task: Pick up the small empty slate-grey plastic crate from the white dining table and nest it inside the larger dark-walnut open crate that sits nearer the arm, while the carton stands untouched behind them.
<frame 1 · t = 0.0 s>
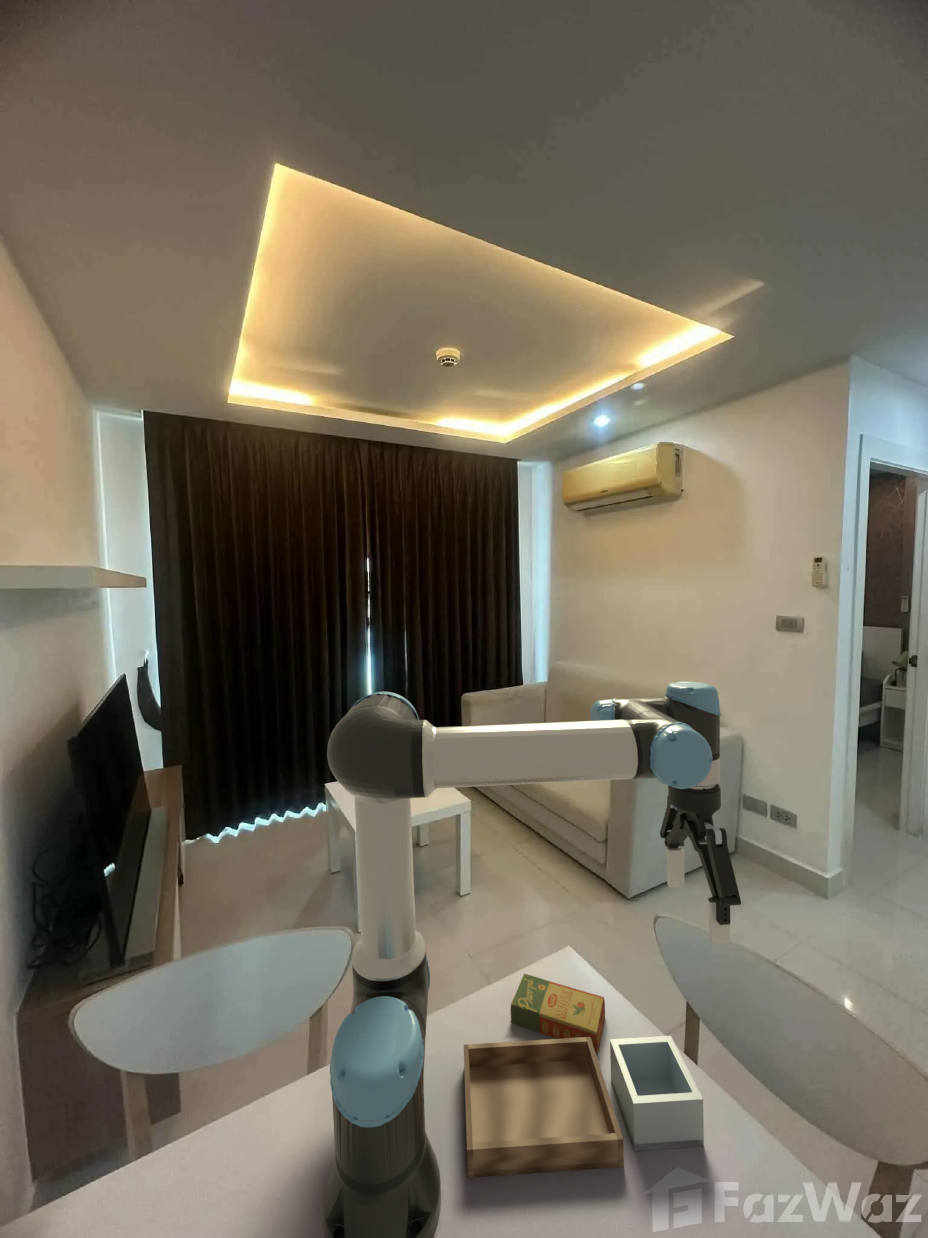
hand: (695, 911, 77), 28 cm above the table, fingers open, 13 cm apart
small crate: (654, 1111, 74), on the table
crate: (536, 1112, 74), on the table
carton: (557, 1022, 90), on the table
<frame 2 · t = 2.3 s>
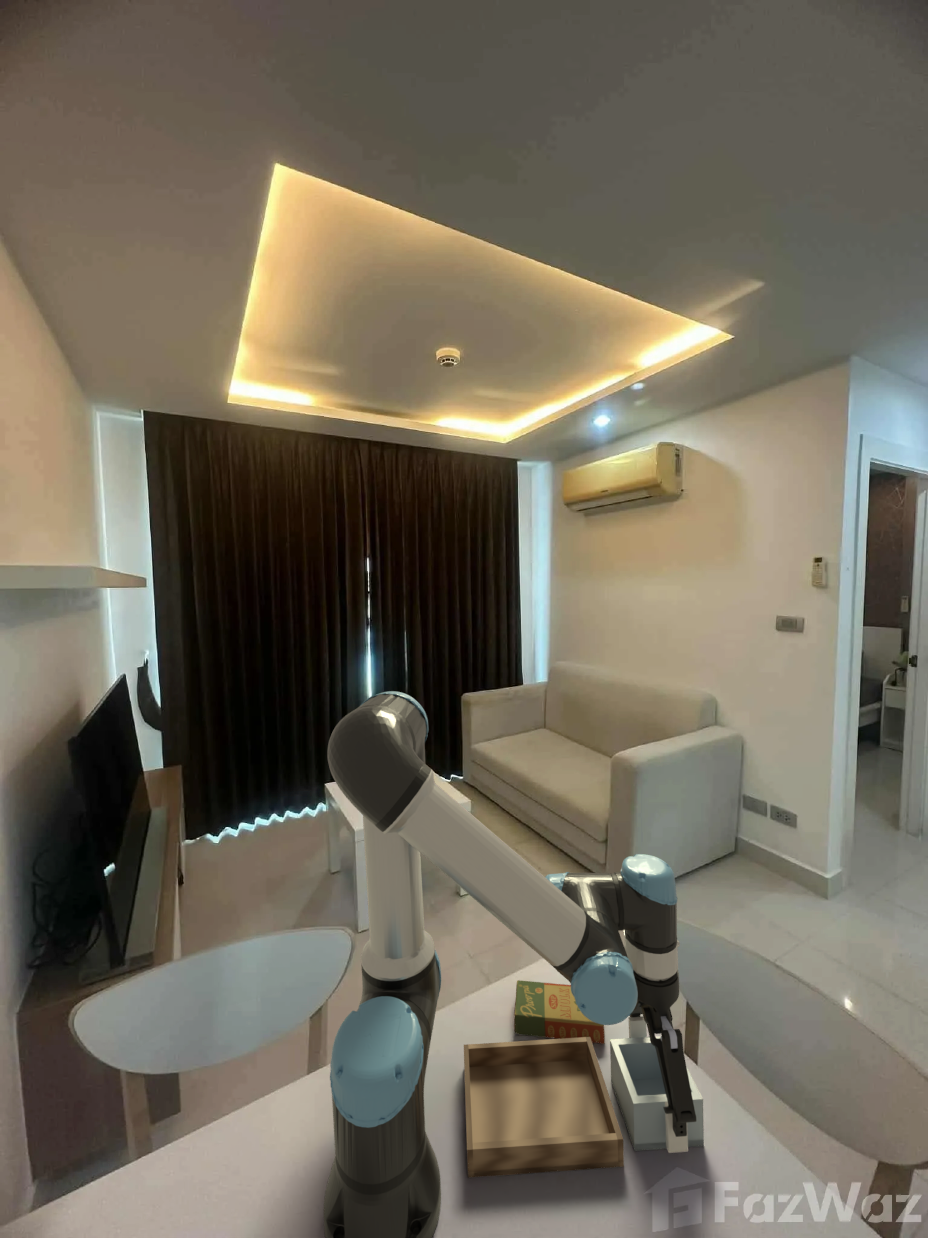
hand: (656, 1099, 73), 2 cm above the table, fingers open, 13 cm apart
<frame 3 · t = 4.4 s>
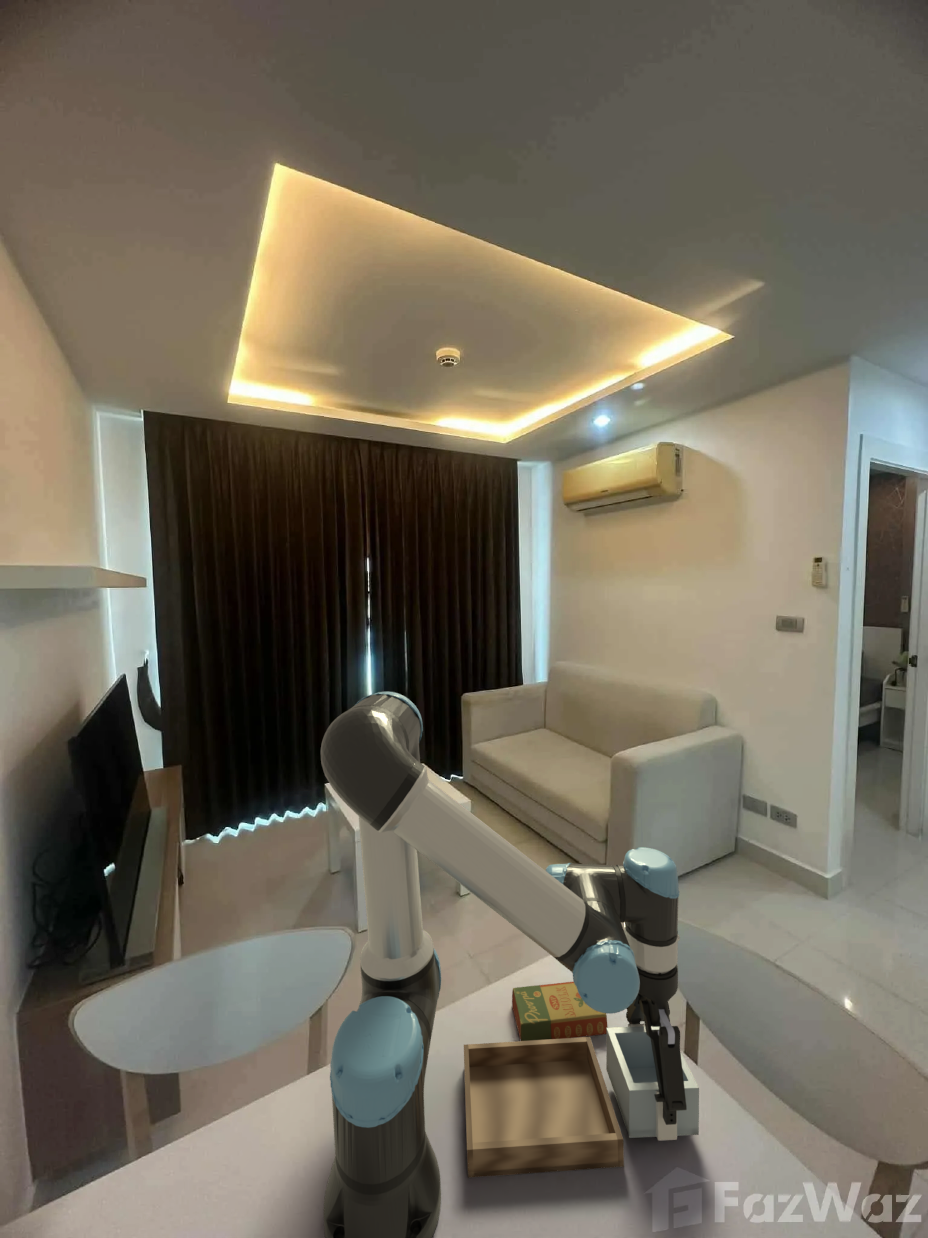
hand: (650, 1098, 74), 2 cm above the table, fingers closed on small crate, 10 cm apart
small crate: (649, 1100, 74), point 2 cm above the table, touching gripper
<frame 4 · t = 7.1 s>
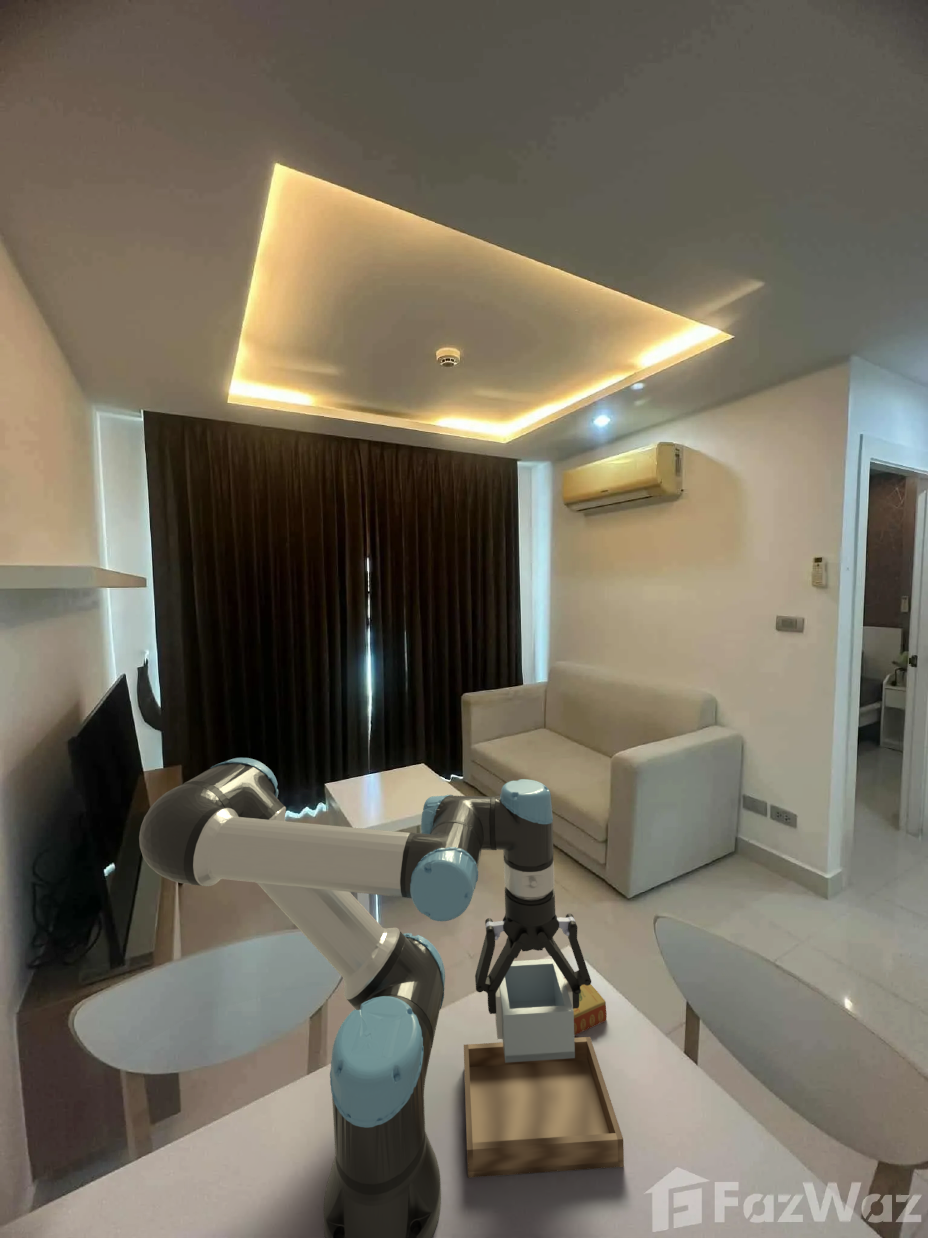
hand: (534, 1028, 74), 13 cm above the table, fingers closed on small crate, 10 cm apart
small crate: (534, 1029, 74), point 13 cm above the table, touching gripper
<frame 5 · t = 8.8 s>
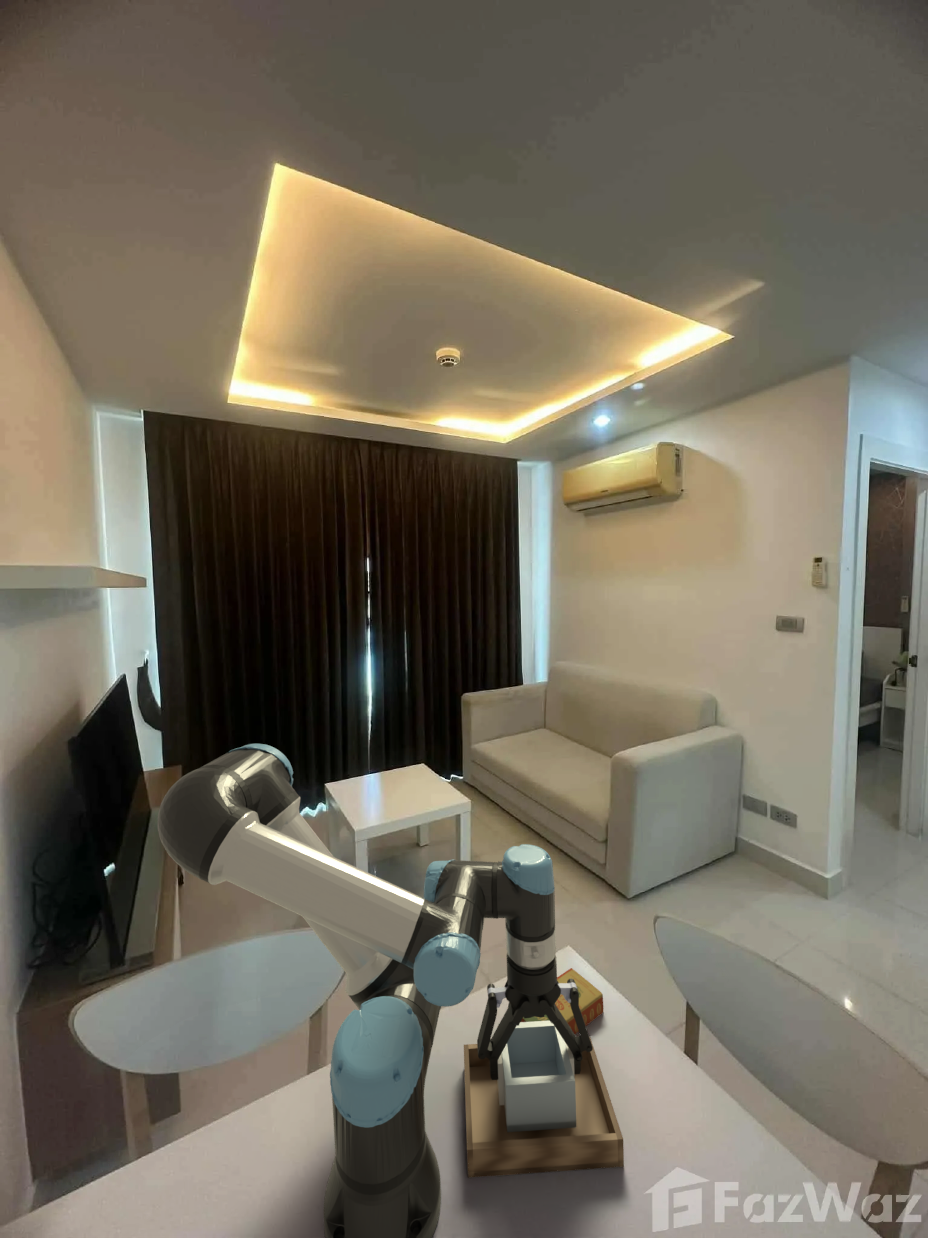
hand: (535, 1094, 74), 3 cm above the table, fingers closed on small crate, 10 cm apart
small crate: (535, 1094, 74), point 3 cm above the table, touching gripper
when the fingers open (3 cm above the table, at t = 9.8 s): small crate drops 2 cm, resting on crate.
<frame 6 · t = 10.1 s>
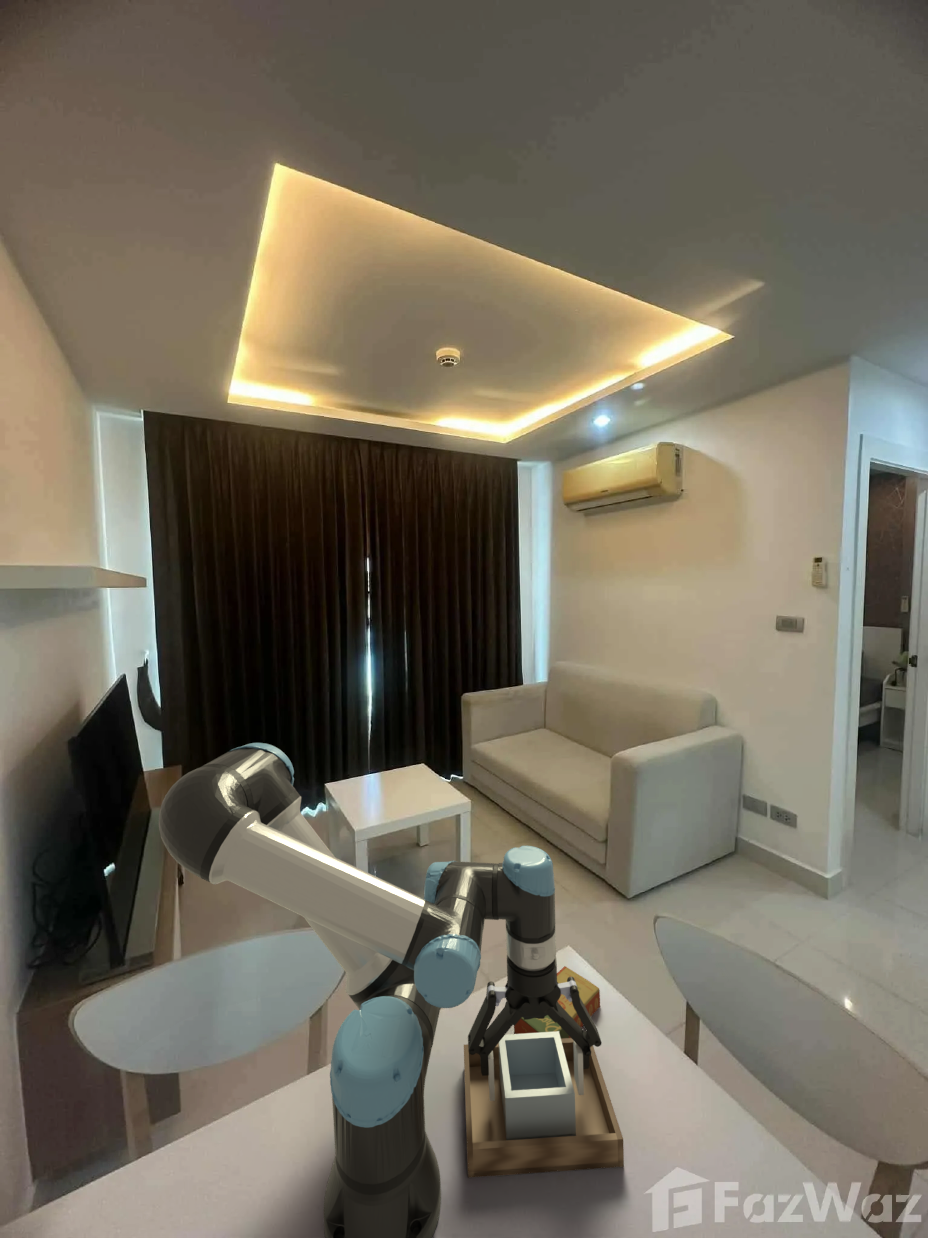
hand: (535, 1089, 74), 4 cm above the table, fingers open, 13 cm apart
small crate: (535, 1106, 74), point 1 cm above the table, touching crate
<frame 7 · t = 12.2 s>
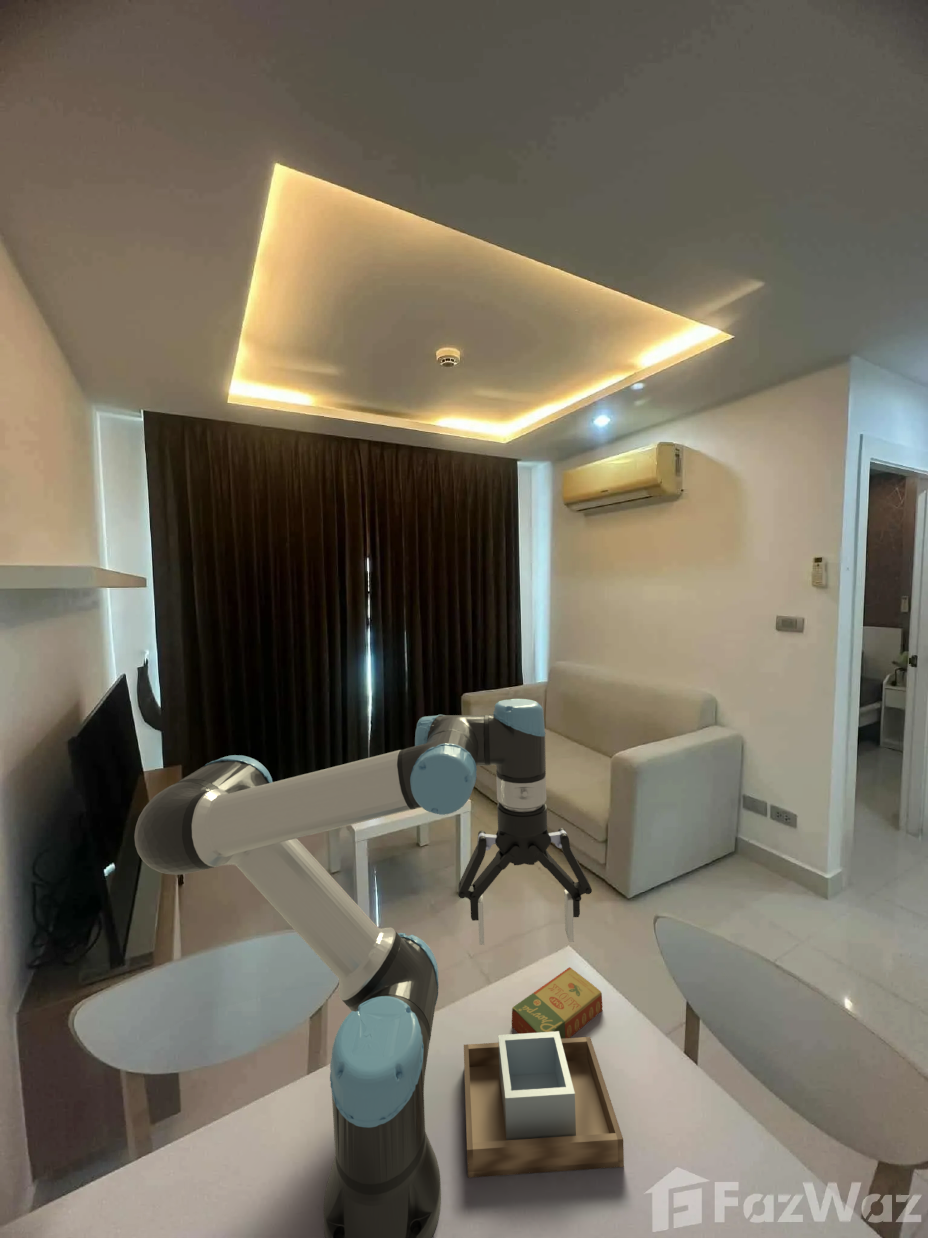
hand: (525, 937, 74), 27 cm above the table, fingers open, 13 cm apart
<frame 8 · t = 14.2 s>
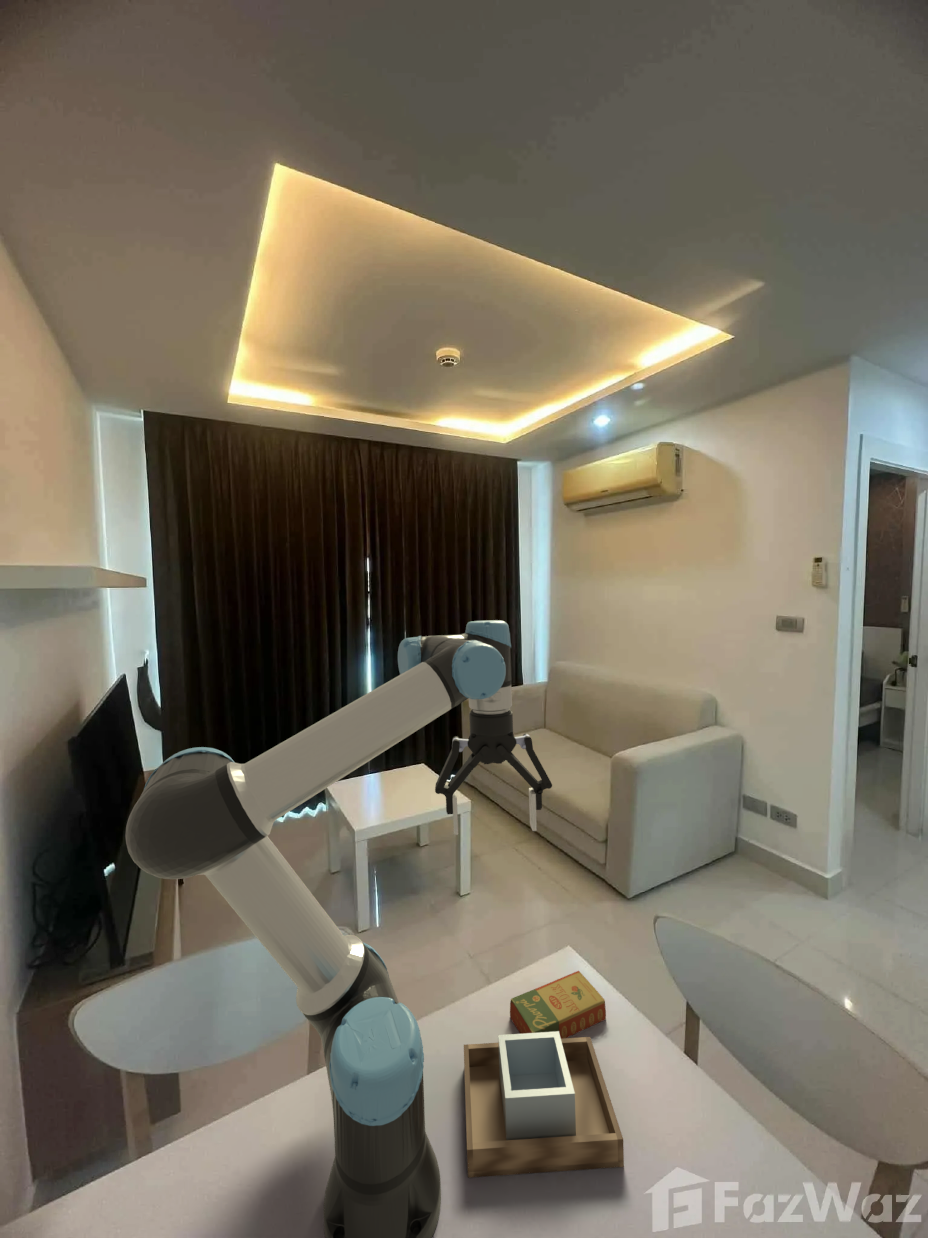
hand: (494, 829, 84), 39 cm above the table, fingers open, 13 cm apart
at the end: small crate inside the target area on the crate (0.1 cm from its centre), point 0.8 cm above the crate's base; small crate tilted 0°; the gripper is holding nothing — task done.
